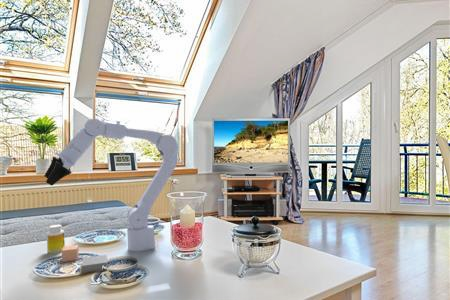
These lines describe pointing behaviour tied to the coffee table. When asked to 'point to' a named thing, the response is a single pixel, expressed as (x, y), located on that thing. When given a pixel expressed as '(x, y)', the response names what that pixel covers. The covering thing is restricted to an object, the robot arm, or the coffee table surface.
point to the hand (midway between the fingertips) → (47, 180)
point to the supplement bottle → (55, 239)
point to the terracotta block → (70, 253)
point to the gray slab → (94, 263)
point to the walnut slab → (86, 272)
